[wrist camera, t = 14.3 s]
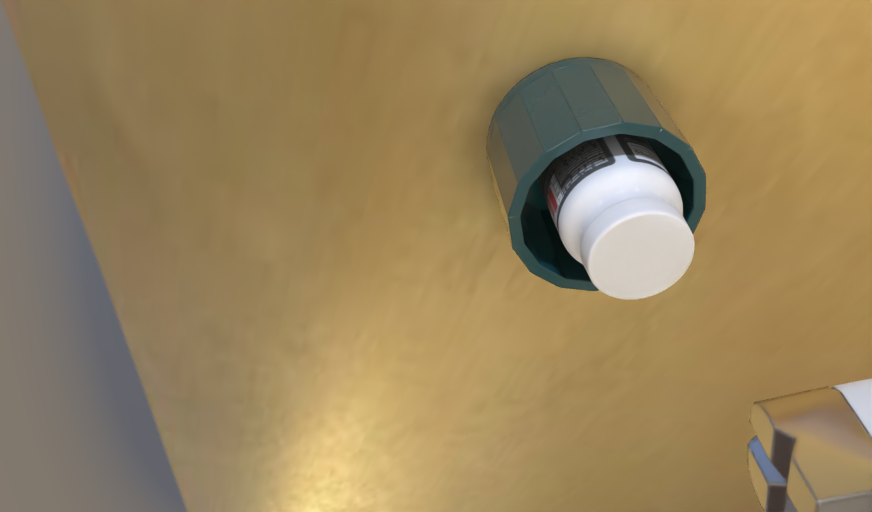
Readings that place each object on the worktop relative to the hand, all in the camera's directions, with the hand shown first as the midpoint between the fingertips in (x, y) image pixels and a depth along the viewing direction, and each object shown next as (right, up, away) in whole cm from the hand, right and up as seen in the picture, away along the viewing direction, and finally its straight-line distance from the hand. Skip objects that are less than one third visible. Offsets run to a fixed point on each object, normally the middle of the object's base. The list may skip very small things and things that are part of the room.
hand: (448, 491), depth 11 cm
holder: (+7, +9, +33) cm, 35 cm away
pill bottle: (+7, +9, +32) cm, 35 cm away
